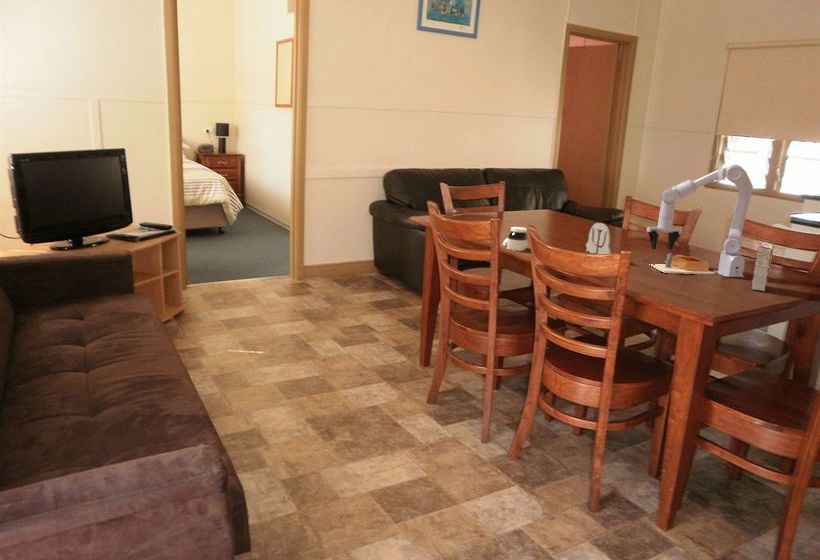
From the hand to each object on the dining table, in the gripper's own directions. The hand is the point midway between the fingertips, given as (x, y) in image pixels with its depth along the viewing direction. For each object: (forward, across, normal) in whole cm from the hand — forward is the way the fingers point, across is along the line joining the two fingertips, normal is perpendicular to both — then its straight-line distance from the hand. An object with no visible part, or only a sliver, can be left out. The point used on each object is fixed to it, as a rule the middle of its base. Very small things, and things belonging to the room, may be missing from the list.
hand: (661, 249), depth 265 cm
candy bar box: (+8, -22, +34) cm, 42 cm away
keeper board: (+7, -5, +6) cm, 10 cm away
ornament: (+8, +32, -5) cm, 33 cm away
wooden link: (+6, -10, +7) cm, 13 cm away
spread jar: (+8, +59, -18) cm, 62 cm away
